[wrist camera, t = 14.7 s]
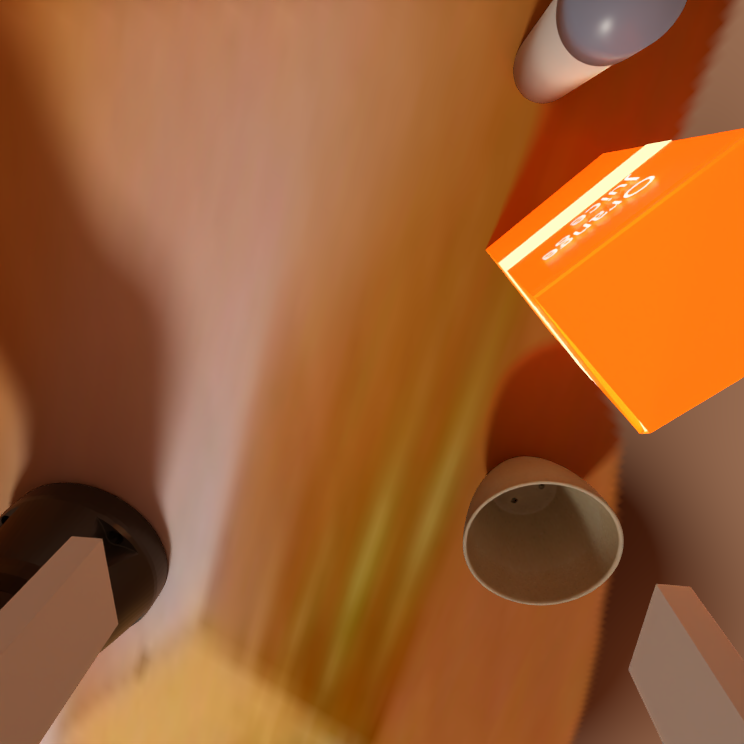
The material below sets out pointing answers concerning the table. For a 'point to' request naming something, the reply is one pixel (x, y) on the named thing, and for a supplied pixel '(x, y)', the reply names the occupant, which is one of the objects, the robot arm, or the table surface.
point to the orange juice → (643, 272)
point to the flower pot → (540, 533)
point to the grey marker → (586, 42)
